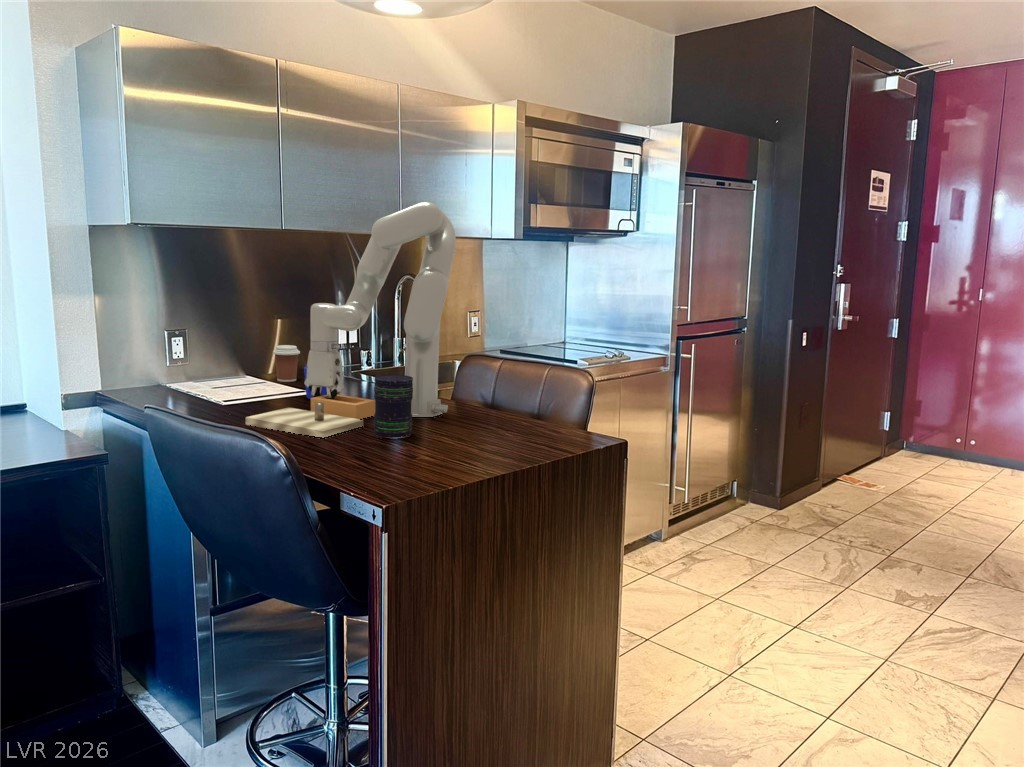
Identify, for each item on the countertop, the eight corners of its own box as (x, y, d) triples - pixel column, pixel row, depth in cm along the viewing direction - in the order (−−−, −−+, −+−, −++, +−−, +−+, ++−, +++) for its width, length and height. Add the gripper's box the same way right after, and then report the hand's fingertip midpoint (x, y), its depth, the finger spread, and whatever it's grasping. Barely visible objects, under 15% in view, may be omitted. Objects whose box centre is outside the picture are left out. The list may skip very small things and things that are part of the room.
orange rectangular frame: (375, 415, 216) (375, 400, 215) (355, 421, 208) (356, 405, 207) (331, 408, 223) (331, 393, 222) (310, 413, 215) (310, 398, 214)
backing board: (363, 427, 202) (363, 420, 201) (323, 439, 187) (323, 431, 187) (288, 414, 213) (288, 407, 213) (245, 424, 199) (245, 417, 198)
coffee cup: (293, 377, 272) (293, 344, 270) (304, 381, 266) (304, 347, 264) (268, 379, 267) (268, 345, 265) (279, 383, 260) (279, 348, 258)
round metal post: (325, 419, 199) (325, 403, 199) (319, 421, 197) (319, 404, 197) (318, 418, 201) (318, 401, 200) (312, 420, 198) (312, 403, 198)
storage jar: (370, 431, 198) (371, 374, 195) (407, 429, 201) (408, 374, 199) (377, 440, 189) (378, 381, 186) (416, 438, 192) (417, 380, 190)
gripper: (355, 348, 215) (355, 411, 218) (310, 343, 222) (310, 404, 226) (338, 350, 209) (338, 415, 212) (292, 345, 216) (292, 408, 219)
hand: (324, 409), depth 219 cm, fingers open, 3 cm apart
